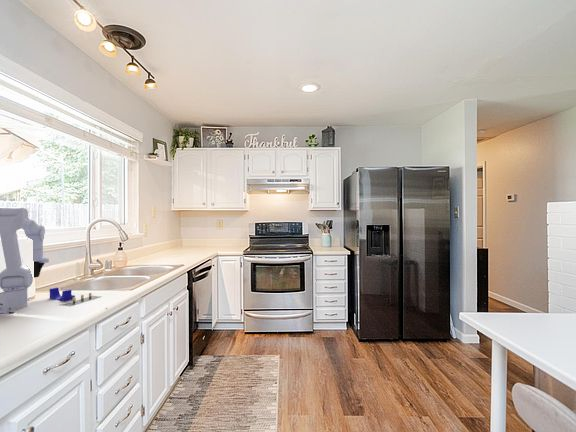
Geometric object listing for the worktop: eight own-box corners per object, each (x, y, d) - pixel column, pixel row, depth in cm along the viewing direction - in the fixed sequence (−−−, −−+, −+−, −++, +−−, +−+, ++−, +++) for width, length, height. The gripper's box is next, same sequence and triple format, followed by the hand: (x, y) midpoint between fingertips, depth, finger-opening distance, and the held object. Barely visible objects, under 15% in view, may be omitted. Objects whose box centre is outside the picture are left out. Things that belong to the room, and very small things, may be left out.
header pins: (73, 303, 136) (73, 297, 136) (72, 303, 136) (72, 297, 136) (91, 298, 144) (91, 292, 144) (90, 298, 144) (90, 292, 144)
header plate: (70, 308, 131) (70, 305, 131) (58, 307, 133) (58, 304, 133) (102, 299, 147) (102, 296, 147) (91, 298, 149) (91, 295, 149)
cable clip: (74, 301, 143) (74, 289, 143) (64, 304, 139) (64, 291, 139) (60, 299, 148) (60, 286, 148) (49, 301, 144) (49, 288, 144)
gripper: (54, 248, 151) (55, 276, 151) (33, 248, 155) (33, 274, 155) (39, 250, 144) (40, 279, 144) (17, 249, 148) (18, 277, 148)
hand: (35, 277), depth 149 cm, fingers closed
